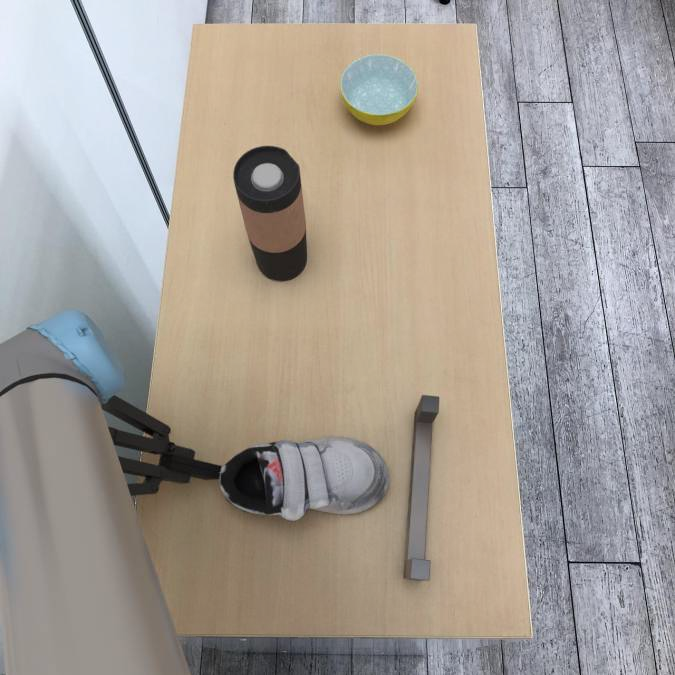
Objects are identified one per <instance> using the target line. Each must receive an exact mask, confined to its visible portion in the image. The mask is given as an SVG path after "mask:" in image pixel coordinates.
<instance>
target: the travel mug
mask: <svg viewBox="0 0 675 675" xmlns="http://www.w3.org/2000/svg"><path fill="white" fill-rule="evenodd" d="M300 168H301V167H300V165H299V163H298V162H296V160H295V159H294V158H293V156H291V155H290V153H289V152H288V151H287V150H286V149H285V148H282V147H280V146H275V145H261V146H256V147H253V148H251V149H249V150H247V151H246V152H244V153H243V154H242V155H241V156H240V157H239V158H238V160H237V161H236V163H235V165H234V168H233V173H232V178H233V183H234V187H235V193H236V195H237V200H238V204H239V207H240V208H239V209H240V212H241V216H242V219H243V224H244V228H245V232H246V235H247V238H248V242H249V244H250V247H251V250H252V254H253V256H254V260H255V263H256V265H257V267H258V269H259V271H260V273H261V274H262V275H263V276H265V277H266V278H267V279H269V280H272V281H275V282H287V281H291V280H294V279H295V278H297V277H298V276H299V275H300V274H302V272H303V271H304V269H305V268H306V266H307V262H308V247H307V246H308V244H307V242H308V240H307V221H306V212H305V204H304V203H305V202H304V195H303V194H304V193H303V187H302V186H303V185H302V179H301V178H302V177H301V169H300Z"/></svg>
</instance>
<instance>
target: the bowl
mask: <svg viewBox="0 0 675 675" xmlns="http://www.w3.org/2000/svg"><path fill="white" fill-rule="evenodd" d="M339 90H340V95H341V98H342V102H343V104H344V105H345V108H346V109H347V111H348V112H349V114H351V115H352V116H353V117H354V118H356V119H357V120H359V121H360V122H363V123H365V124H368V125H372V126H384V125H389V124H392V123H394V122H396V121H398V120H400V119H401V118H403V117H404V116H405V115H406V114H407V113H408V112H409V110H411V108H412V107H413V105H414V103H415V101H416V98H417V96H418V92H419V80H418V76H417V74H416V72H415V71H414V69H413V68H412V67H411V65H409V64H408V63H407V62H405V61H404V60H402V59H400V58H398V57H396V56H393V55H390V54H385V53H371V54H366V55H364V56H361V57H358V58H356V59H355V60H352V62H350V63H349V64H348V65H347V66H346V67H345V69H344V70H343V72H342V74H341V76H340V80H339Z"/></svg>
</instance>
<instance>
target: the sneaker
mask: <svg viewBox="0 0 675 675" xmlns="http://www.w3.org/2000/svg"><path fill="white" fill-rule="evenodd" d="M219 473H220V478H219V489H220V491H221V492H222V494H223V496H224V498H225V499H226V501H227V502H228V503H229V504H230V505H231V506H232V507H234V508H236V509H239V510H240V511H242V512H245V513H250V514H254V515H263V516H279V517H281V518H283V519H284V520H286V521H291V522H294V521H299V519H301V518H303V517H305V514H306V512H307V510H313V511H318V512H324V513H330V514H334V515H335V514H336V515H354V514H358V513H359V514H360V513H361V512H364V511H366V510H369V509H370V508H371V509H372V508H373V507H374V506H376V505H377V504H379V502H380V501H381V500H382V499H383V498H384V496H385V495H386V493H387V490H388V488H389V485H390V484H389V470H388V468H387V463H386V462H385V460H384V458H383V457H382V455H381V454H380V453H379V452H378V451H377V450H376V449H374V448H373V446H371V445H370V444H367V443H365V442H364V441H360V440H357V439H353V438H350V437H345V436H327V437H322V438H316V439H315V438H313V439H308V440H305V441H299V442H295V441H292V440H288V439H286V440H285V439H282V440H279V441H272V442H266V443H261V444H255V445H251V446H247V448H245V449H244V450H242V451H240V452H239V451H238V453H236V454H234V455H233V456H232V457H230V458H229V459H228V461H227V462H226V463H225V464H224V465H223V466H221V472H219Z"/></svg>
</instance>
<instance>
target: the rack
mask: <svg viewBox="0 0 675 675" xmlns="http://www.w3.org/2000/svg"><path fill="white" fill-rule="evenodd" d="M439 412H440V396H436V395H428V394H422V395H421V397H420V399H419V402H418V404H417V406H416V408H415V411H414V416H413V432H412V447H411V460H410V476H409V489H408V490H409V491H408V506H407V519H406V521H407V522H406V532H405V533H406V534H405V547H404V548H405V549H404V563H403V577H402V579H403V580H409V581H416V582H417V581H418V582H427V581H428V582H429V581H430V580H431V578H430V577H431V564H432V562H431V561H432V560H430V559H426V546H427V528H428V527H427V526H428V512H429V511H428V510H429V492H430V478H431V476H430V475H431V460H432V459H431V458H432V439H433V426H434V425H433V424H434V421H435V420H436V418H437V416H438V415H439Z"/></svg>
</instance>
